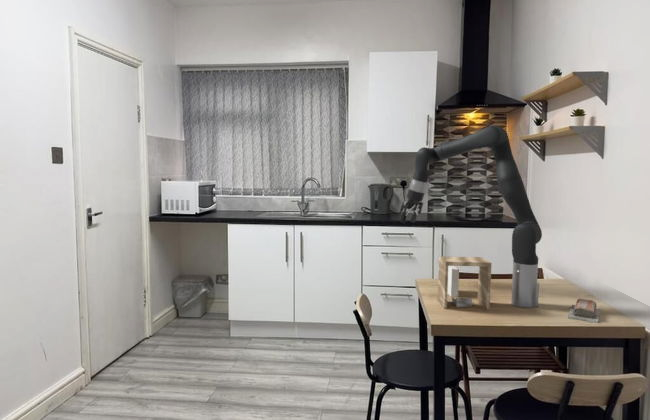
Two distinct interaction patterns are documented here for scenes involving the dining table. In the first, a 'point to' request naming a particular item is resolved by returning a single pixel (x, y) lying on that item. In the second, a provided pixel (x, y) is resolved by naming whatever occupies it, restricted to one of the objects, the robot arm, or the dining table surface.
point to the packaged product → (584, 311)
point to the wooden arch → (483, 281)
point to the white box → (453, 281)
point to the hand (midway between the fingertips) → (407, 222)
